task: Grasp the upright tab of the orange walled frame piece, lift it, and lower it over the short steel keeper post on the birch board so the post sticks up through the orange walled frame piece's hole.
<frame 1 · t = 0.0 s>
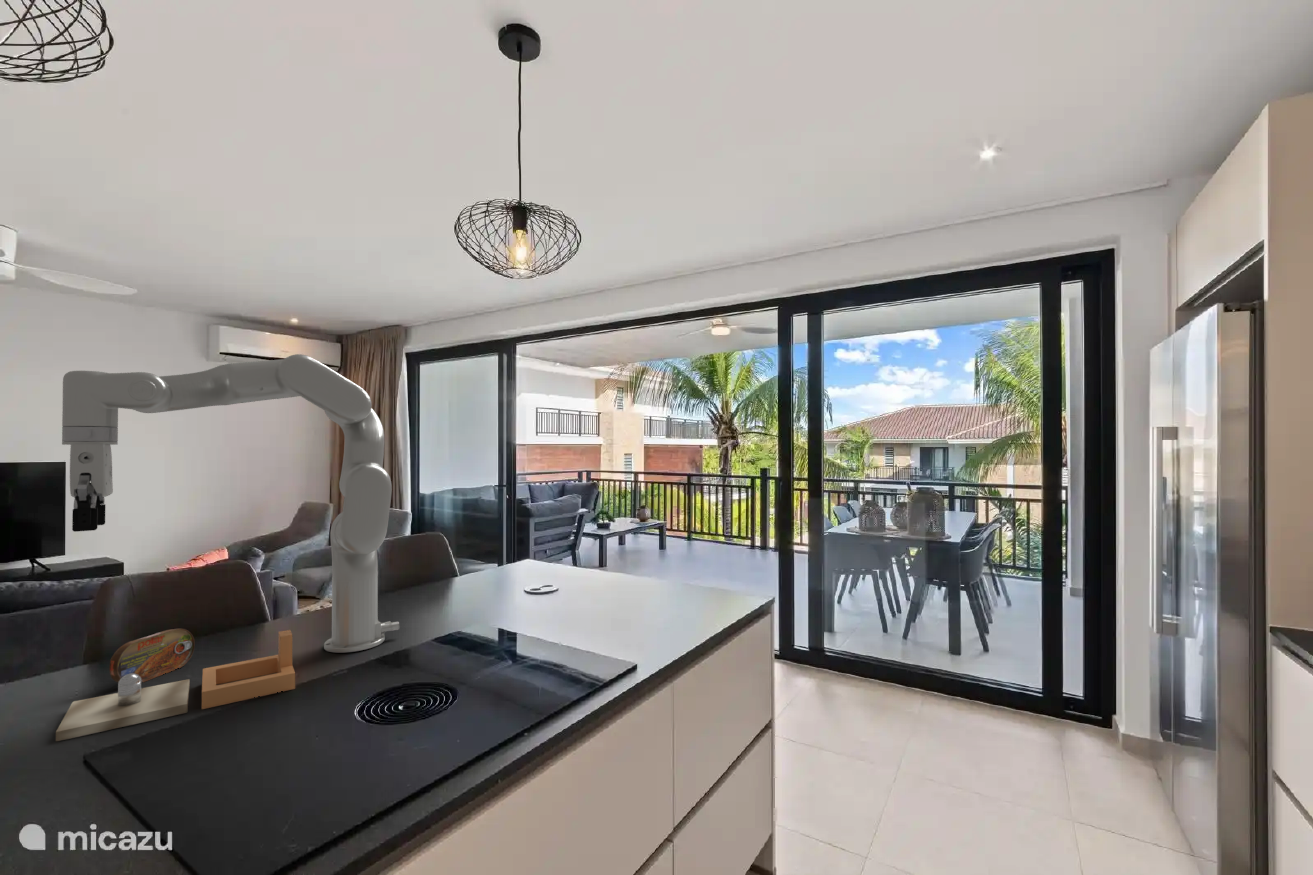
hand: (89, 528, 108), 31 cm above the worktop, tool pointing down, fingers open, 9 cm apart
tin: (153, 677, 117), on the worktop
keeper post: (129, 688, 101), on the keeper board, point 4 cm above the worktop
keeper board: (129, 711, 101), on the worktop
orange walled frame piece: (248, 686, 111), on the worktop
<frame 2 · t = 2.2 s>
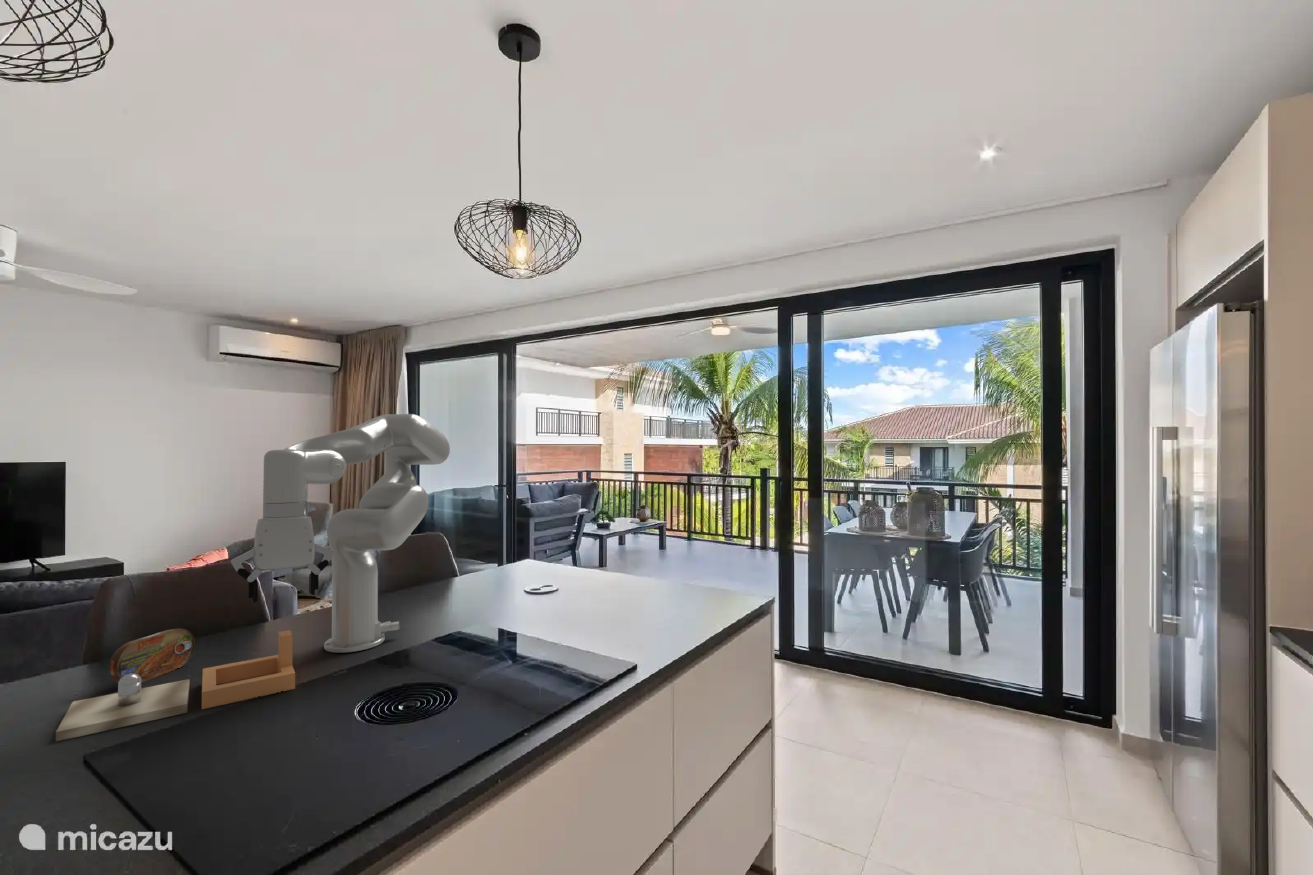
hand: (284, 597, 115), 16 cm above the worktop, tool pointing down, fingers open, 9 cm apart
nothing on the worktop moved.
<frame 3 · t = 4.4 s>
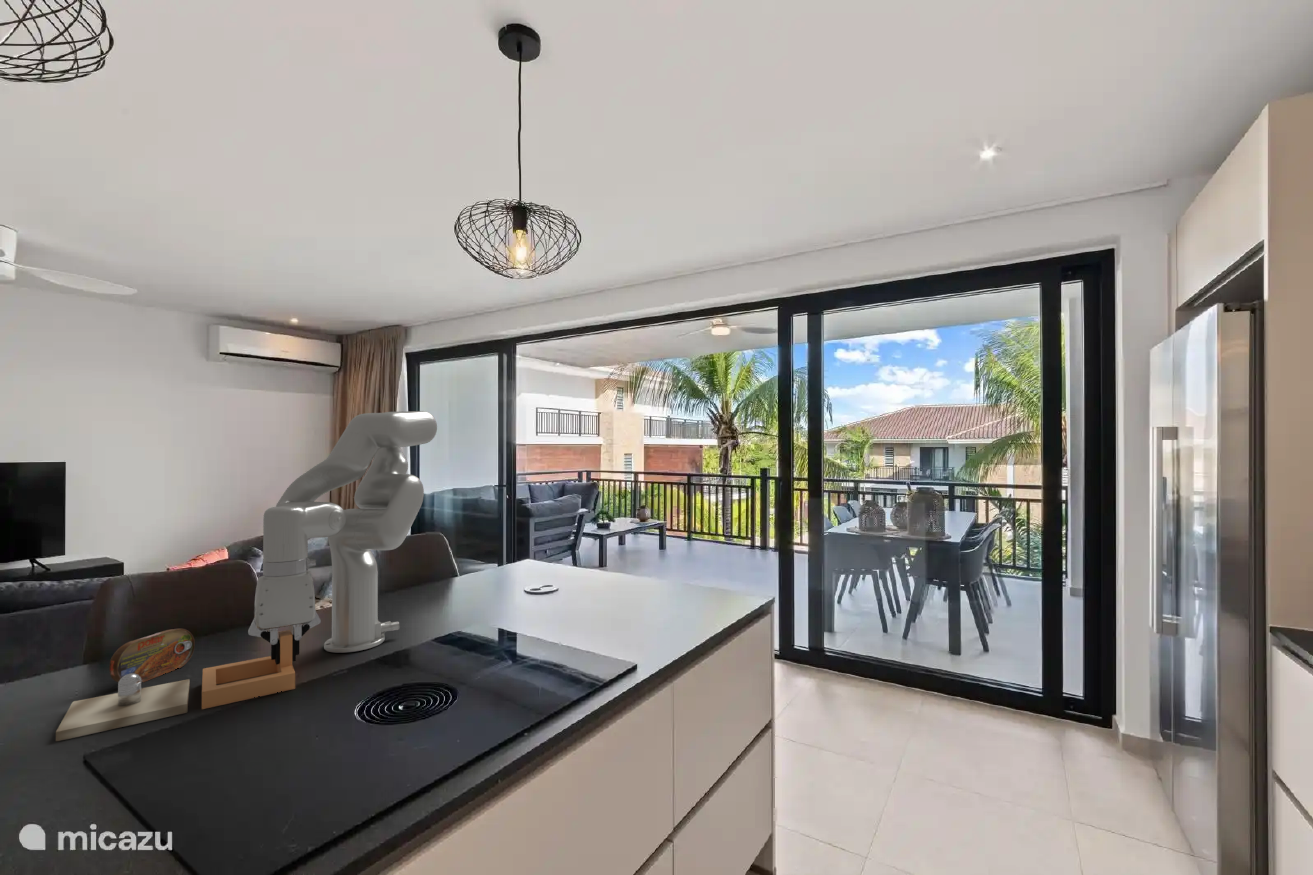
hand: (285, 660, 115), 4 cm above the worktop, tool pointing down, fingers closed on orange walled frame piece
orange walled frame piece: (248, 686, 111), on the worktop, touching gripper
everything else where it was.
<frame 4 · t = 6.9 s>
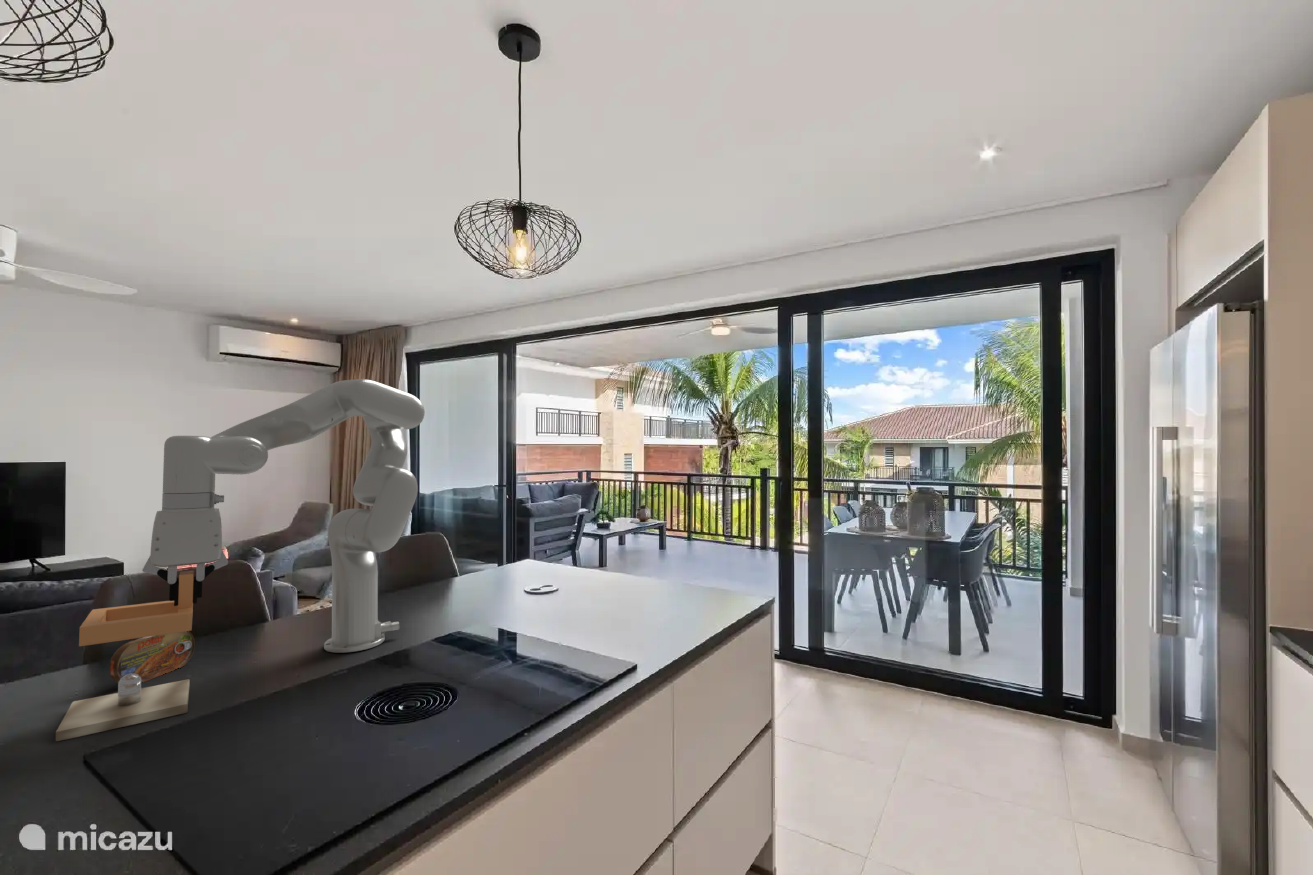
hand: (185, 602, 106), 18 cm above the worktop, tool pointing down, fingers closed on orange walled frame piece
orange walled frame piece: (141, 628, 102), point 14 cm above the worktop, touching gripper
everything else where it was.
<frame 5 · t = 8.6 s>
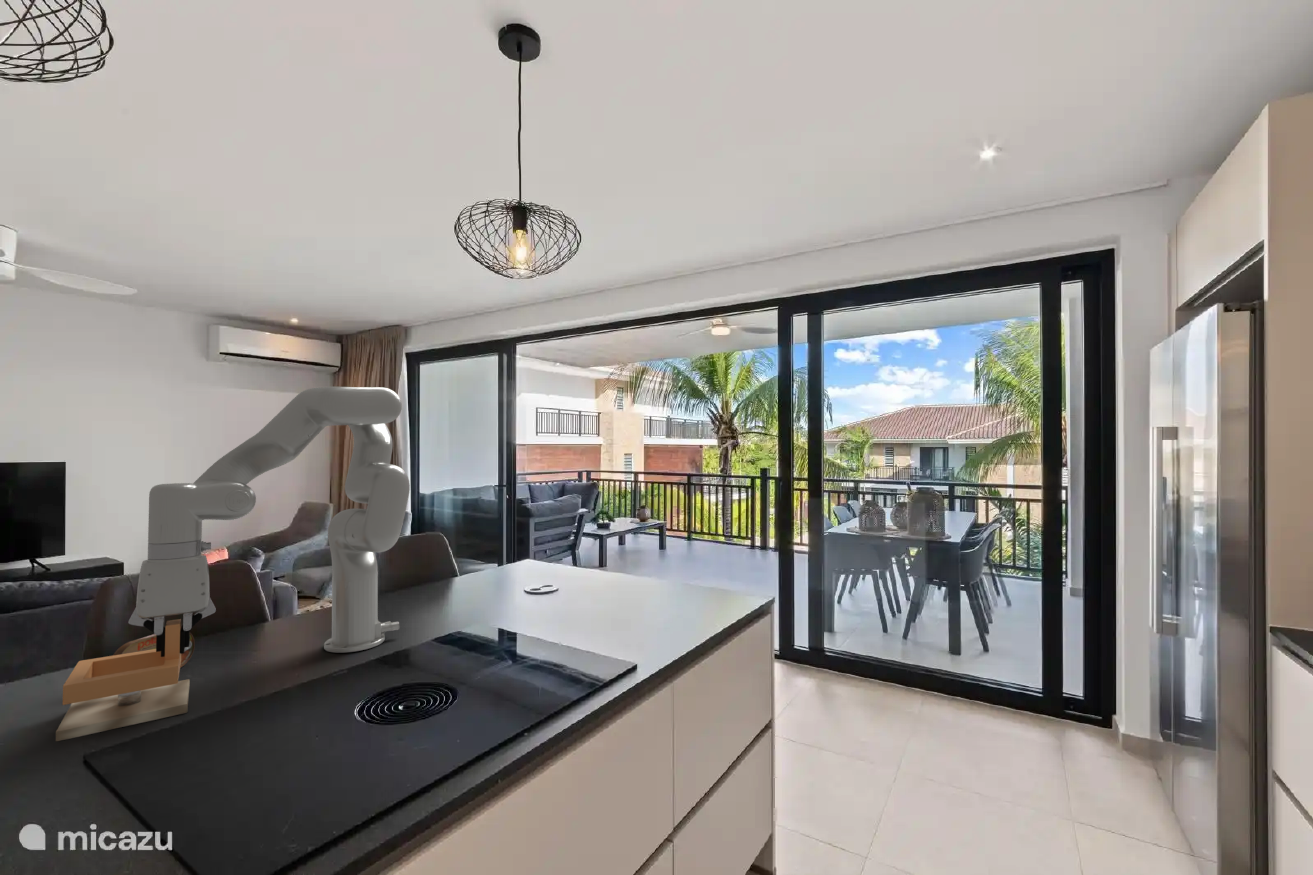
hand: (172, 652, 105), 9 cm above the worktop, tool pointing down, fingers closed on orange walled frame piece
orange walled frame piece: (127, 680, 101), point 5 cm above the worktop, touching gripper
everything else where it was.
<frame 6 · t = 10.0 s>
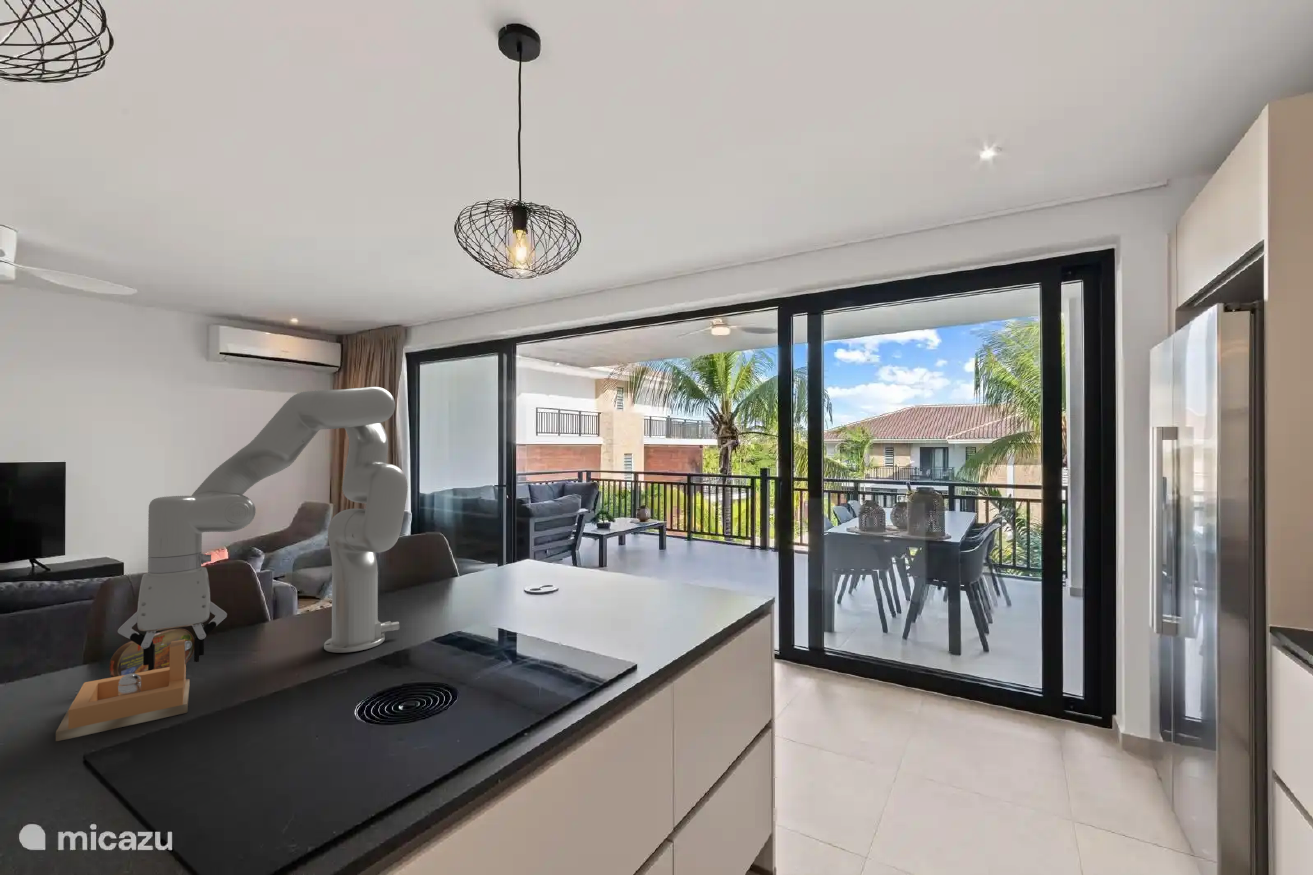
hand: (174, 663, 105), 7 cm above the worktop, tool pointing down, fingers open, 5 cm apart
orange walled frame piece: (132, 702, 101), point 1 cm above the worktop, touching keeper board
everything else where it was.
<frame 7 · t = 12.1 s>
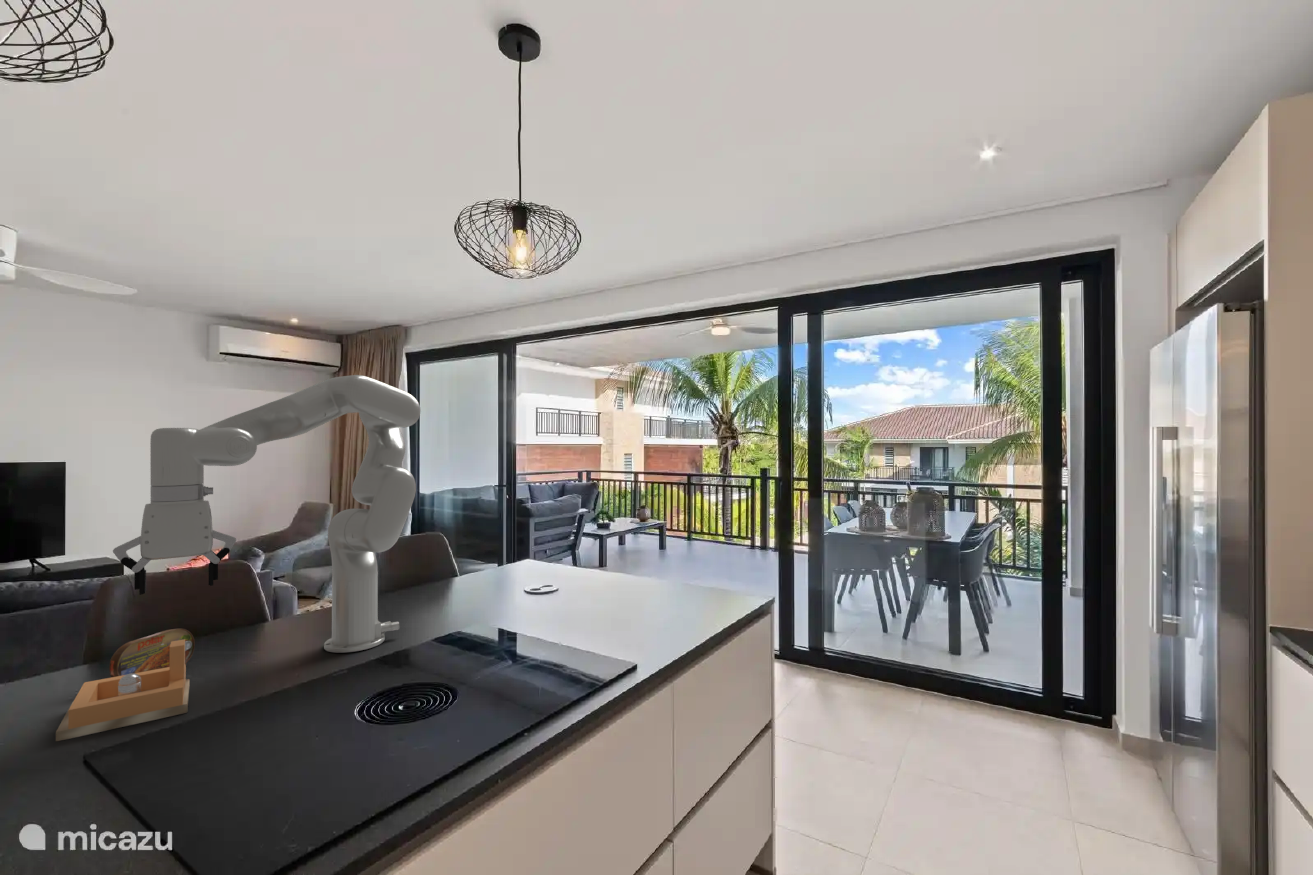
hand: (177, 588, 106), 20 cm above the worktop, tool pointing down, fingers open, 9 cm apart
nothing on the worktop moved.
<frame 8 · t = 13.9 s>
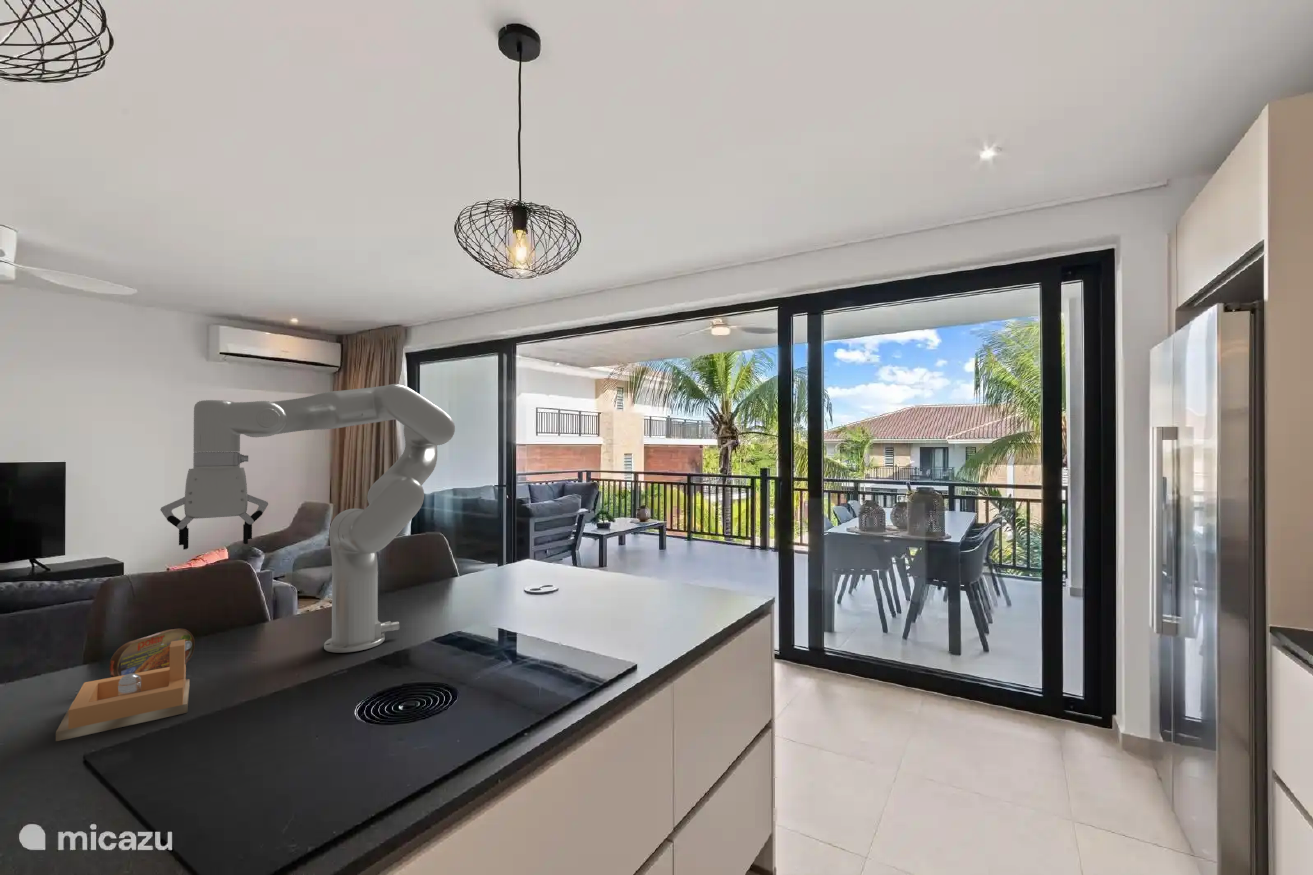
hand: (216, 545, 117), 26 cm above the worktop, tool pointing down, fingers open, 9 cm apart
nothing on the worktop moved.
at the end: orange walled frame piece 0.4 cm from the keeper post (horizontally); orange walled frame piece point 1.5 cm above the worktop; the gripper is holding nothing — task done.
